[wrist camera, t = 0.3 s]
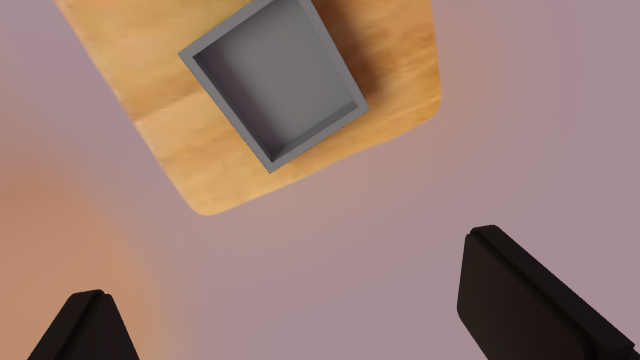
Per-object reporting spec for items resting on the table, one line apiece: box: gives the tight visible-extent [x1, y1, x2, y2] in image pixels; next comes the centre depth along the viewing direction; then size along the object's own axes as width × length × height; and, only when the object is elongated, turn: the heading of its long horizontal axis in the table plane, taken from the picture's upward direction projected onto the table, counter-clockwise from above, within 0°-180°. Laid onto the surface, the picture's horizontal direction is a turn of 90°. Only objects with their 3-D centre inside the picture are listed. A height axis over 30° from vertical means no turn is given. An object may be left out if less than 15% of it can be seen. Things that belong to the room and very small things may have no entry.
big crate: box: [177, 0, 370, 174], centre depth 39 cm, size 16×14×4 cm
